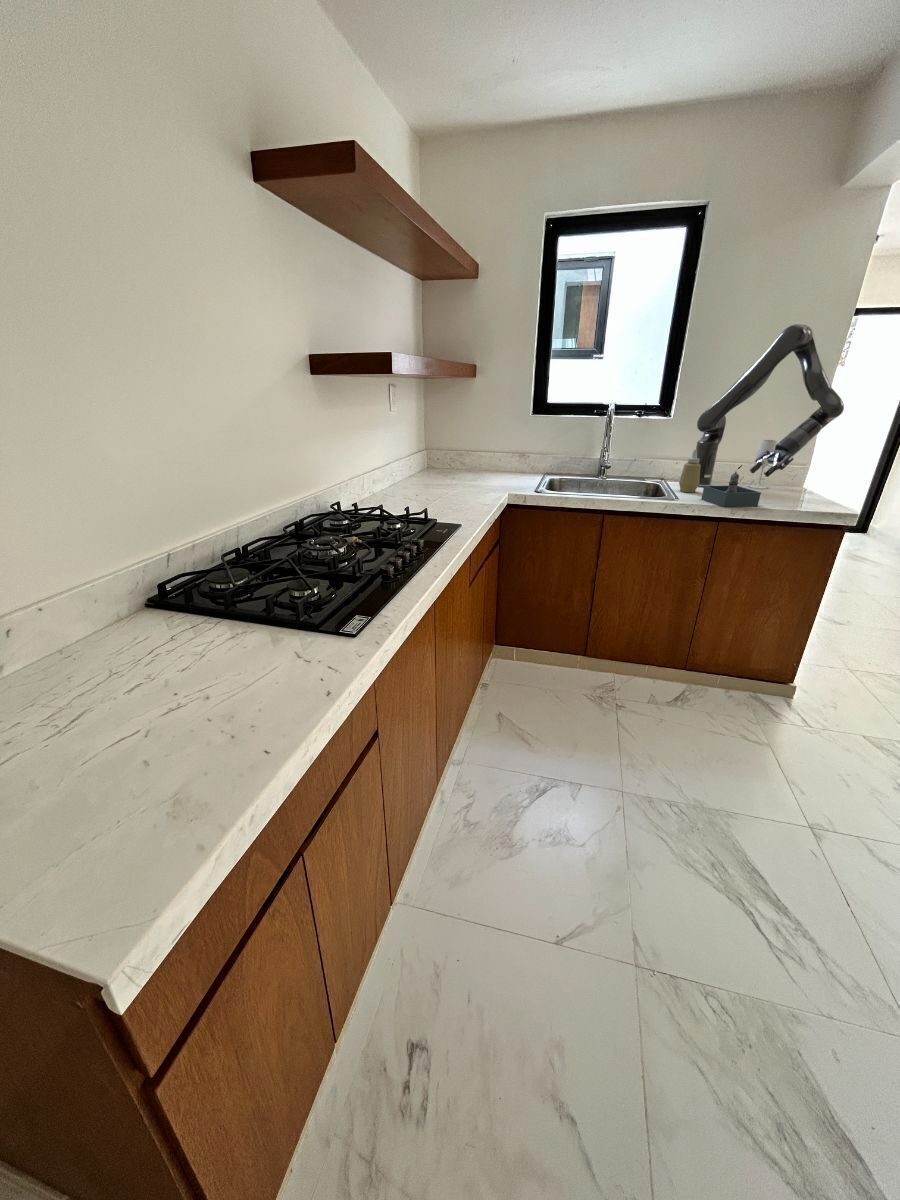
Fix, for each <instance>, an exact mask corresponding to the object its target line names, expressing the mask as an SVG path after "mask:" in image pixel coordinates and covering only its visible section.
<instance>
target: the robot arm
mask: <svg viewBox="0 0 900 1200" xmlns="http://www.w3.org/2000/svg"><path fill="white" fill-rule="evenodd" d="M792 352H793V353H794V355H795V356H796V358H797V359H798V361H799V365H800V368H801V373H802V374H801V375H802V380H803V384H804V387H805V390H806V391H807V393H808V396H809V398H810V399H811V400H812V401H815V402H817V403H818V404H819V406H820V407H818V408H817V409H816V410H815V411H813V412H812V413H811V414H810V416H808V418H807V419H805V420H804V421H802V422H801V424H799V425H798V426H797V427H795V428H794V429H793V430H792V431H790V432H789V433H788V434H787V435H786V436H785V437H783V438H782V439H781V440H780V441H779V442H777V445H776V446H775V450H774V451H772V452H769V451H768V450H767V451H765V452H764V453H763V454H762V455H760V456H759V457H758V458H757V459H756V458H755V460H754V462H755V463H754V465H753V466H751V467H750V469H749V472H750V473H751V474H755V473H756V472H757V471H758V470H759V469H760V468H762V467H761V466H763V465H767V466H769V465H771V466H770V467H768V469H767V470H765V471H763V474H764V476H765V477H766V478H768V477H770V476H771V475H772V474H774V473H775V472H776V471H779V470H780V471H782V470H784V469H785V468H786V467H787V466H788V465H789V464H790V463H792V462H793V461H794V456H795V455H797V454H798V453H799V452H800V451H801V450H802V449H803V448H805V446H807V445H808V444H809V442H810V441H812V439H814V438H815V437H816V436H817V435H818V434H820V432H821V431H822V430H823V429H824V428H825V427H826V426H827V425H829V424H830V423H831V422H832V421H834V420H835V419H837V418H838V417H840V416H841V415H843V412H844V410H845V404H844V401H843V399H842V398H841V397H840V395H839V394H838V393H837V392H836V391H835V389H833V387H832V385H831V381H830V380H829V377H828V376H827V373H826V371H825V369H824V367H823V365H822V362H821V359H820V355H819V352H818V349H817V345H816V339H815V335H814V331H813V329H812V327H810V326H809V325H808V324H801V323H795V324H791V325H789V326H787V327H786V328H785V329H783V331H781V333H780V334H779V335H778V336H777V337H776V339H775V340H774V341H773V343H771V345H770V346H769V347H768V348H767V350H765V351H764V353H763V354H762V355H761V356H760V357H759V358H758V359H757V360H756V361H754V362H753V364H752V365H751V366H750V367H749V368H748V369H746V371H744V373H742V375H741V376H740V377H738V379H737V380H736V381H735V382H734V383H733V384H732V385H731V386H730V387H729V388H728V389H727V390H726V391H725V392H724V394H722V395H721V396H720V397H719V399H717V400H716V401H715V402H714V403H713V404H712V405H711V406H710V407H708V408H707V409H706V410H704V411H703V413H701V415H699V417H698V419H697V422H696V428H697V430H698V431H699V432H701V433H703V434H702V436H701V438H700V439H699V440H697V441H696V445H695V450H697V458H698V459H699V463H698V464H700V465H701V467H700V479H699V485H698V487H702V488H704V486H712V480H713V475H714V470H715V465H716V460H717V455H718V450H719V447H720V444H721V442H722V440H723V436H724V434H725V433H724V432H725V429H726V423H727V417H726V415H727V414H728V413H729V412H731V411H732V410H733V409H735V408H737V407H738V406H740V405H741V404H743V403H745V402H746V401H748V400H749V399H750V398H752V397H753V396H754V395H755V394H756V393H757V392H758V391H759V390H760V389H761V388H762V387H763V386H764V385H765V384H766V383H767V381H768V380H769V378H770V377H771V375H772V374H773V372H774V370H775V369H776V367H777V366H778V365H779V364H780V363H781V362H782V361H784V359H786V357H787V356H789V355H790V354H791V353H792ZM767 458H768V459H767ZM759 459H761V460H759ZM766 459H767V460H768V461H767V460H766ZM762 462H764V463H762ZM768 464H769V465H768Z"/></svg>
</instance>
